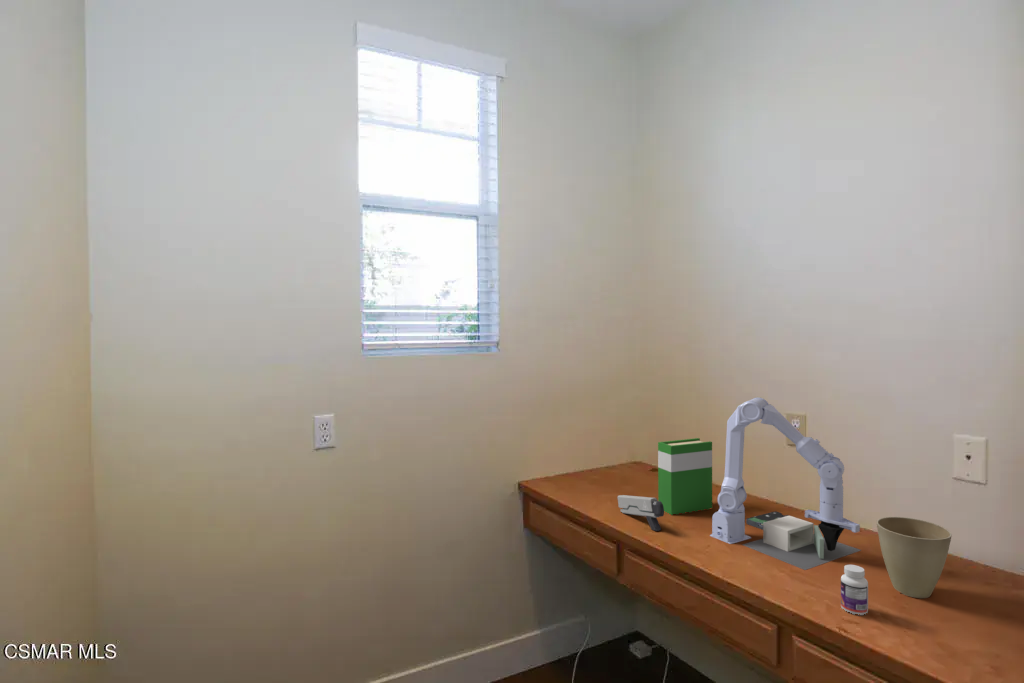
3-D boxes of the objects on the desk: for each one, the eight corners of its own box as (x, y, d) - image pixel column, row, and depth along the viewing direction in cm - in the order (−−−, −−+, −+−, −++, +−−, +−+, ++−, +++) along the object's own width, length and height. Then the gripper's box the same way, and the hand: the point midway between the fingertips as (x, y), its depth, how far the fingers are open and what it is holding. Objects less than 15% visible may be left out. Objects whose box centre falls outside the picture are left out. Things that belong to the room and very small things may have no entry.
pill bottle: (842, 601, 133) (843, 561, 133) (869, 608, 130) (869, 567, 129) (838, 610, 129) (838, 569, 129) (866, 618, 125) (866, 575, 125)
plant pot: (869, 591, 138) (869, 527, 137) (884, 572, 148) (884, 512, 148) (945, 613, 127) (946, 543, 127) (955, 591, 138) (956, 526, 137)
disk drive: (775, 519, 191) (745, 526, 184) (775, 510, 191) (745, 517, 184) (803, 528, 182) (773, 536, 175) (803, 519, 182) (773, 527, 175)
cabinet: (787, 551, 161) (787, 530, 161) (763, 542, 168) (763, 522, 168) (813, 543, 167) (813, 523, 167) (788, 534, 174) (789, 515, 174)
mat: (805, 571, 149) (805, 570, 149) (741, 546, 167) (741, 544, 167) (861, 551, 162) (861, 550, 162) (797, 529, 179) (797, 528, 179)
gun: (662, 532, 175) (657, 499, 177) (619, 524, 198) (616, 495, 200) (668, 531, 176) (664, 498, 178) (625, 523, 199) (622, 494, 201)
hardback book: (698, 502, 208) (698, 438, 207) (712, 508, 201) (712, 441, 200) (658, 508, 201) (658, 442, 201) (671, 515, 194) (671, 446, 194)
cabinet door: (827, 559, 155) (827, 539, 155) (819, 558, 156) (819, 539, 156) (820, 543, 166) (820, 525, 166) (813, 542, 167) (813, 524, 167)
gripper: (866, 506, 153) (866, 555, 153) (815, 492, 165) (815, 538, 166) (851, 510, 149) (850, 561, 150) (800, 496, 162) (800, 543, 162)
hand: (831, 549), depth 157 cm, fingers closed
